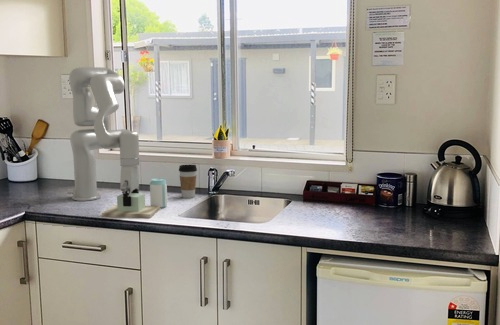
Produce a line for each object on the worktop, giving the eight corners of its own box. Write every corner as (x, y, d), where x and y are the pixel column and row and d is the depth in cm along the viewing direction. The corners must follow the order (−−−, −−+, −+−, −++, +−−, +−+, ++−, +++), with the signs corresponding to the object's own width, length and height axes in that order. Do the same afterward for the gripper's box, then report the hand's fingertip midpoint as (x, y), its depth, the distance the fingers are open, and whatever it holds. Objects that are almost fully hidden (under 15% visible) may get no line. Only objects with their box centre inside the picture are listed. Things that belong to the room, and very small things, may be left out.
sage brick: (117, 210, 221) (117, 196, 221) (124, 206, 228) (124, 192, 227) (138, 211, 220) (138, 197, 219) (145, 207, 227) (144, 193, 226)
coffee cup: (188, 199, 249) (188, 166, 247) (175, 197, 254) (174, 165, 252) (201, 196, 255) (200, 164, 253) (188, 194, 260) (187, 162, 258)
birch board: (101, 216, 218) (101, 212, 218) (114, 208, 232) (114, 204, 232) (150, 218, 216) (150, 214, 216) (160, 209, 230) (160, 206, 230)
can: (147, 206, 235) (146, 179, 233) (160, 204, 240) (160, 177, 238) (157, 209, 230) (156, 181, 228) (170, 206, 235) (169, 179, 233)
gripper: (128, 158, 230) (129, 198, 232) (113, 165, 213) (114, 208, 215) (145, 159, 229) (146, 199, 232) (131, 165, 212) (133, 208, 215)
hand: (131, 203), depth 224 cm, fingers open, 9 cm apart
